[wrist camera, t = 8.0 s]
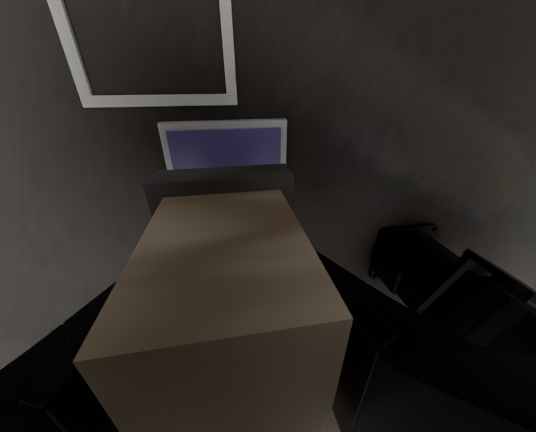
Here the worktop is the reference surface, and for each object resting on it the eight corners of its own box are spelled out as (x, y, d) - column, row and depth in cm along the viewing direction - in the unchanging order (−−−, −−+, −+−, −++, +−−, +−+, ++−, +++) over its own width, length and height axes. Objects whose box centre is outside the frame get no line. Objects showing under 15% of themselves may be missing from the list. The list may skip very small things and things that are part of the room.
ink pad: (284, 118, 18) (287, 120, 17) (282, 201, 21) (285, 207, 20) (160, 121, 17) (155, 123, 16) (178, 209, 20) (175, 216, 19)
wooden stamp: (284, 163, 10) (389, 290, 4) (282, 261, 12) (343, 438, 6) (154, 170, 9) (10, 344, 3) (179, 272, 11) (128, 487, 5)
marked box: (224, -106, 13) (224, -111, 12) (237, 104, 17) (237, 104, 17) (6, -128, 11) (1, -134, 11) (85, 107, 16) (83, 107, 16)
